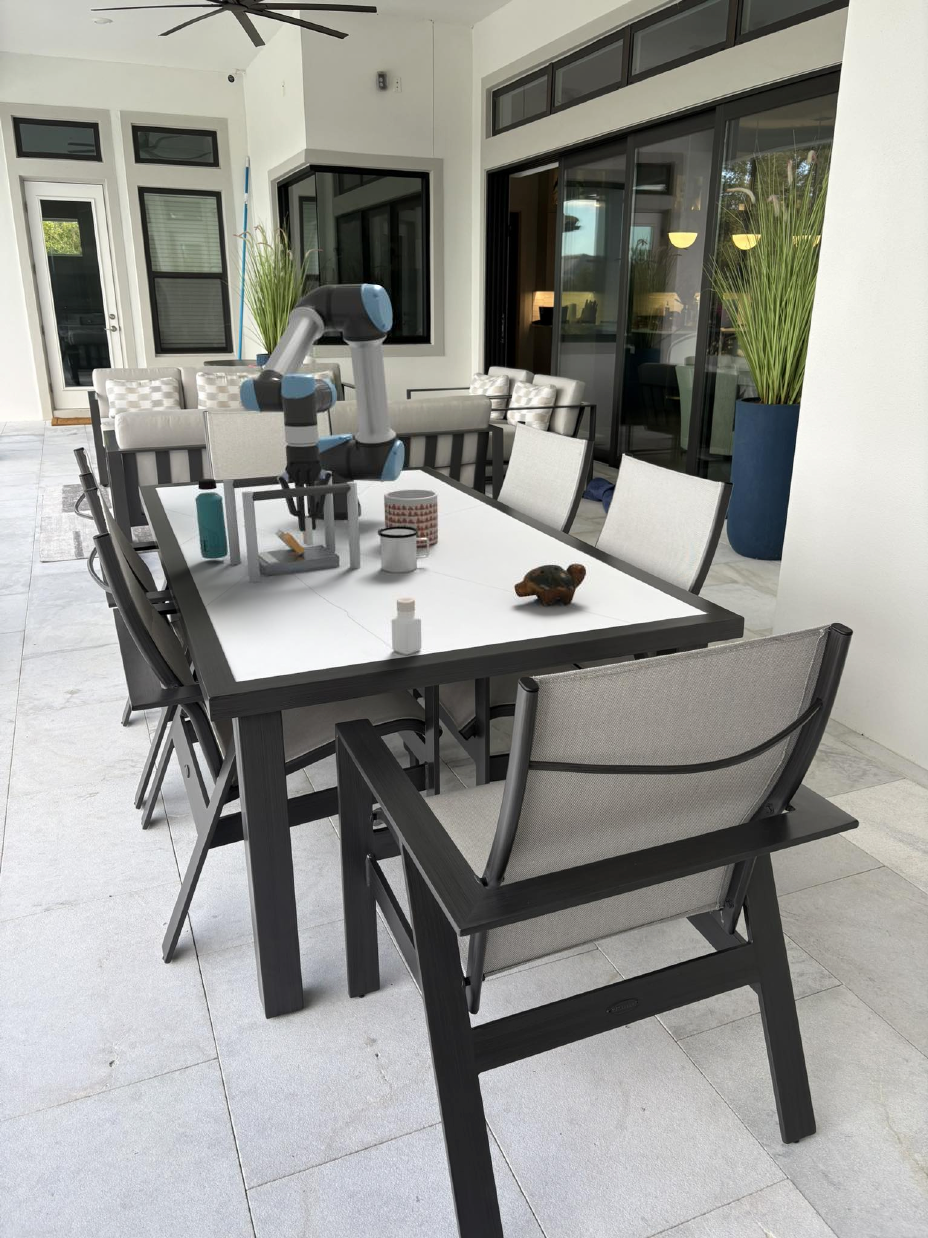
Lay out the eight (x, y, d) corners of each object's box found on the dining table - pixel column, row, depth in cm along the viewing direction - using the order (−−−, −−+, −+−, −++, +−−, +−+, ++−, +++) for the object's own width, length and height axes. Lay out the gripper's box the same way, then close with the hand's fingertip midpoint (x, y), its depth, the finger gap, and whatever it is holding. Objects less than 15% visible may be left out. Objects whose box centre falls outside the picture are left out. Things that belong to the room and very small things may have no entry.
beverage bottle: (234, 559, 218) (227, 477, 211) (218, 566, 212) (210, 482, 206) (211, 557, 220) (203, 475, 213) (195, 563, 214) (186, 480, 208)
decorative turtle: (594, 604, 183) (594, 567, 180) (525, 616, 180) (523, 578, 176) (575, 588, 192) (575, 553, 189) (509, 599, 188) (507, 564, 185)
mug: (383, 575, 204) (382, 536, 201) (375, 564, 213) (373, 527, 210) (434, 570, 207) (433, 532, 205) (424, 560, 216) (423, 524, 213)
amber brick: (302, 549, 214) (287, 532, 211) (306, 552, 211) (291, 535, 208) (297, 554, 214) (282, 536, 211) (301, 557, 211) (286, 539, 208)
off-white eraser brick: (295, 544, 218) (279, 528, 215) (299, 547, 216) (283, 531, 213) (290, 549, 218) (274, 533, 215) (294, 552, 216) (278, 536, 213)
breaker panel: (322, 554, 222) (322, 543, 221) (339, 566, 212) (339, 554, 211) (250, 564, 214) (250, 552, 213) (265, 576, 204) (264, 564, 203)
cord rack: (333, 549, 226) (329, 470, 220) (362, 567, 210) (358, 483, 204) (229, 562, 215) (221, 479, 208) (251, 583, 199) (243, 493, 192)
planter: (446, 538, 237) (446, 491, 233) (423, 550, 225) (422, 500, 221) (401, 533, 242) (400, 487, 238) (376, 545, 231) (374, 496, 227)
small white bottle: (406, 656, 156) (405, 604, 153) (391, 651, 158) (389, 600, 155) (422, 650, 159) (421, 599, 156) (407, 645, 161) (405, 594, 158)
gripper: (323, 439, 211) (329, 537, 219) (269, 443, 205) (277, 543, 213) (334, 443, 205) (339, 544, 212) (279, 447, 199) (286, 550, 207)
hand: (308, 543), depth 213 cm, fingers closed
